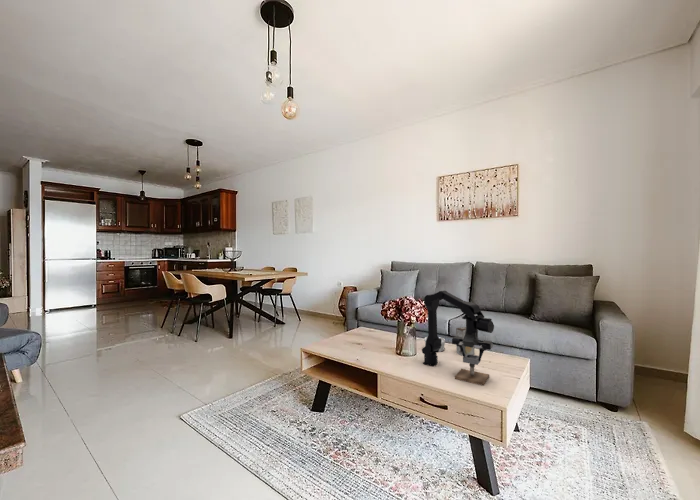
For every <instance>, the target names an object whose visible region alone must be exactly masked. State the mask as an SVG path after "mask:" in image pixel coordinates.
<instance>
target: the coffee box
mask: <svg viewBox="0 0 700 500" xmlns="http://www.w3.org/2000/svg"><path fill="white" fill-rule="evenodd" d="M465 331H466V326H464V327H463V326H461V327H456V328H455V332H456V333H455V336H458V337H462V338H464V336H465ZM455 347H456V349H455V350H456V355H459V356H462V357H463V354H462V351H461V349H460V348H459V346H457V344H455ZM466 354H471V355H476V353H475V346H474V347H472V348H471V347H467V346H466V347H465V355H466Z"/></svg>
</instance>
